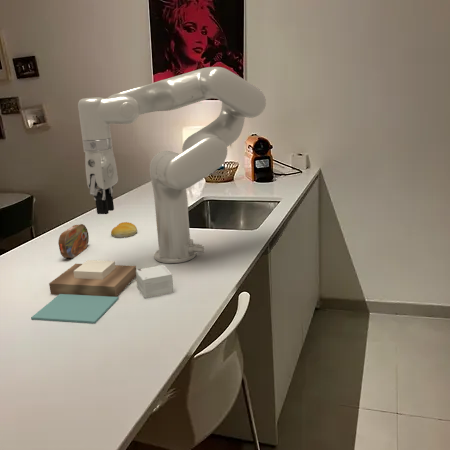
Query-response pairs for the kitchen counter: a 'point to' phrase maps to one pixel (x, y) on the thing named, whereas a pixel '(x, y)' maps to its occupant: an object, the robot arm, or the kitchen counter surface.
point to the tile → (94, 269)
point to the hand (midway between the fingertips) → (105, 211)
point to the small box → (154, 281)
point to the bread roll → (124, 230)
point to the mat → (75, 308)
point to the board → (94, 282)
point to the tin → (73, 241)
